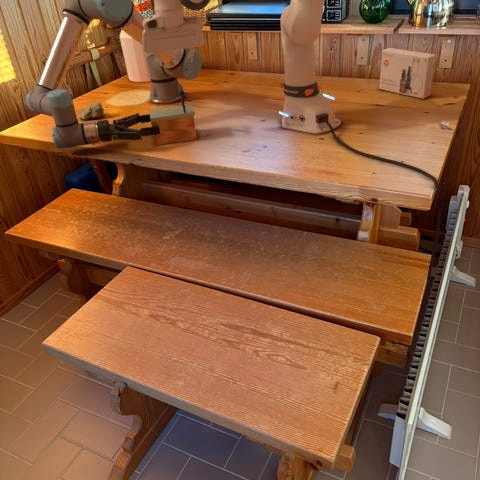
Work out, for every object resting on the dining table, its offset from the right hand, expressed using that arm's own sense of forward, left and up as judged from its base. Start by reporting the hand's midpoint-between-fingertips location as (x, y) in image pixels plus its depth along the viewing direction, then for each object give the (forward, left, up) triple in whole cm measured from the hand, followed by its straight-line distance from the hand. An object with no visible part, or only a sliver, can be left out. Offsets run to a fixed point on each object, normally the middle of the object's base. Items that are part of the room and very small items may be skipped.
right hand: (176, 63), depth 156 cm
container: (+84, -37, -26) cm, 96 cm away
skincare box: (-38, -82, -26) cm, 94 cm away
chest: (+2, +4, -26) cm, 26 cm away
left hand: (+5, +8, -19) cm, 22 cm away
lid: (+2, +4, -17) cm, 17 cm away
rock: (+51, +13, -26) cm, 59 cm away
